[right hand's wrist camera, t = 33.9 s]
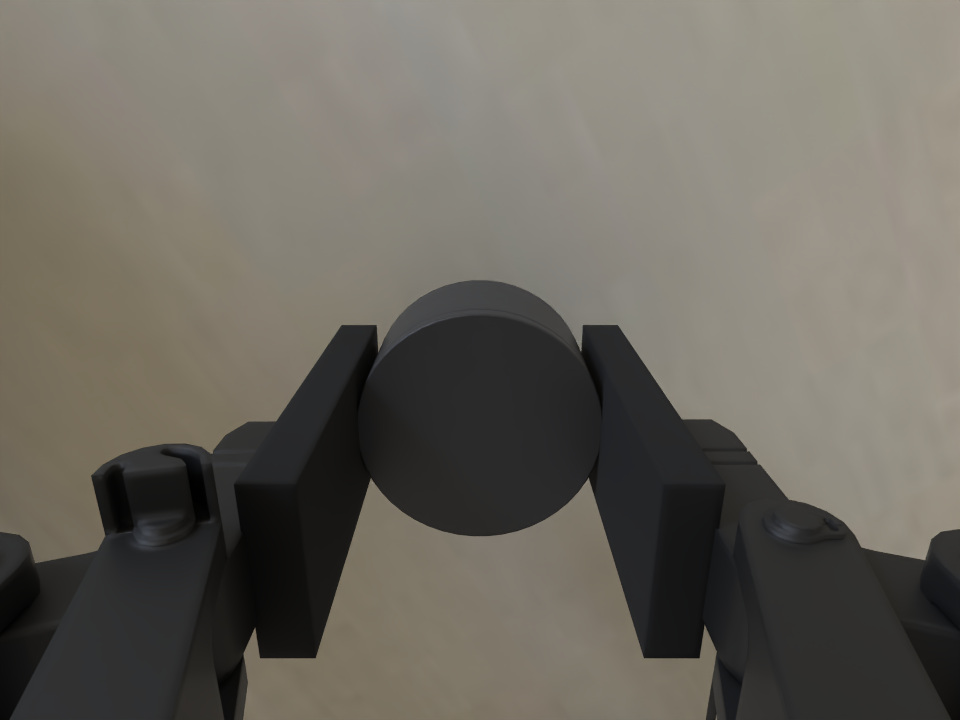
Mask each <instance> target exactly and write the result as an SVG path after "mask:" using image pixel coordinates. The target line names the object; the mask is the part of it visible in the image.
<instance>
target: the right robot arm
mask: <svg viewBox="0 0 960 720" xmlns="http://www.w3.org/2000/svg"><path fill="white" fill-rule="evenodd" d="M581 354H582V356H583V358H584V361H585V363H586V365H587V367H588V370H589V372H590V374H591V377H592V379H593V381H594V384H595V386H596V389H597V392H598V394H599V398H600V402H601V407H602V425H601V439H600V451H599V455H598V458H597V460H596V463H595V466H594V468H593V470H592V472H591V473H590V475H589V480H590V483H591V486H592V490H593V493H594V496H595V500H596V503H597V506H598V509H599V513H600V516H601V519H602V522H603V526H604V529H605V532H606V536H607V539H608V542H609V545H610V549H611V552H612V555H613V558H614V562H615V565H616V568H617V571H618V575H619V578H620V581H621V585H622V588H623V591H624V594H625V598H626V601H627V604H628V607H629V611H630V614H631V617H632V621H633V624H634V627H635V630H636V634H637V637H638V640H639V643H640V647H641V650H642V653H643V657H644V658H700V651H701V645H702V638H703V632H704V625H705V626H706V628H707V631H708V633H709V635H710V637H711V639H712V642H713V644H714V646H715V648H716V651H717V654H716V660H715V667H714V673H713V679H712V685H711V691H710V697H709V703H708V709H707V716H706V720H715V719H716V714H717V720H960V529H957V530H951V531H944V532H940V533H939V534H938V535H936V536H935V537H934V538H932V539H931V543H930V546H929V550H928V553H927V557H926V560H920V559H915V558H909V557H904V556H899V555H893V554H888V553H883V552H877V551H873V550H869V549H865V548H861V546H860V544H859V542H858V540H857V539H856V537H855V535H854V534H853V532H852V531H851V530H850V529H849V528H848V527H847V525H846V524H845V523H844V522H842V521H841V520H839V519H838V518H836V517H835V516H833V515H831V514H830V513H828V512H827V511H824V510H822V509H819V508H817V507H814V506H811V505H809V504H806V503H802V502H797V501H792V500H788V498H787V497H786V496H785V495H784V493H783V492H782V491H781V490H780V489H779V487H778V486H777V485H776V484H775V482H774V481H773V480H772V479H771V478H770V476H769V475H768V474H767V473H766V471H765V470H764V469H763V468H762V467H761V465H758V464H757V460H756V459H755V458H754V457H753V456H752V454H751V453H750V452H747V448H746V447H745V446H744V445H743V443H742V442H741V441H740V440H739V438H738V437H737V436H736V435H735V433H733V432H732V431H730V430H728V429H727V428H725V427H723V426H721V425H720V424H718V423H716V422H715V421H713V420H682V419H681V418H680V416H679V415H678V413H677V412H676V410H675V409H674V407H673V406H672V404H671V403H670V401H669V400H668V398H667V397H666V396H665V394H664V393H663V391H662V390H661V388H660V387H659V385H658V384H657V382H656V381H655V379H654V378H653V376H652V375H651V373H650V372H649V370H648V369H647V368H646V366H645V365H644V363H643V362H642V360H641V359H640V357H639V356H638V354H637V353H636V351H635V350H634V348H633V347H632V345H631V344H630V342H629V341H628V340H627V338H626V337H625V335H624V334H623V332H622V331H621V329H620V328H619V326H618V325H583V334H582V351H581ZM377 355H378V341H377V325H342V326H341V327H340V329H339V330H338V332H337V333H336V334H335V336H334V337H333V339H332V340H331V342H330V343H329V345H328V346H327V348H326V349H325V351H324V352H323V354H322V355H321V357H320V358H319V360H318V361H317V362H316V364H315V365H314V367H313V368H312V370H311V371H310V373H309V374H308V376H307V377H306V379H305V380H304V382H303V383H302V385H301V386H300V387H299V389H298V390H297V392H296V393H295V395H294V396H293V398H292V399H291V401H290V402H289V404H288V405H287V407H286V408H285V410H284V411H283V413H282V414H281V415H280V417H279V418H278V420H277V421H276V422H247V423H245V424H244V425H242V426H240V427H239V428H237V429H235V430H234V431H232V432H230V433H229V434H227V435H226V436H225V437H224V438H223V439H222V441H221V442H220V443H219V444H218V445H217V447H216V448H215V449H214V450H213V454H210V453H209V452H207V451H206V450H205V449H203V448H202V447H199V446H194V445H189V444H162V445H156V446H151V447H145V448H141V449H138V450H135V451H132V452H129V453H126V454H123V455H120V456H118V457H116V458H115V459H113V460H111V461H109V462H107V463H105V464H103V465H102V466H101V467H100V468H99V469H98V470H97V471H96V472H95V473H94V474H93V475H92V476H91V477H92V481H93V485H94V490H95V494H96V498H97V502H98V506H99V510H100V515H101V519H102V523H103V527H104V531H105V538H104V540H103V542H102V544H101V545H100V547H99V549H98V551H95V552H91V553H87V554H82V555H77V556H72V557H66V558H61V559H56V560H51V561H45V562H40V563H35V562H34V558H33V555H32V552H31V548H30V545H29V542H28V541H26V540H25V539H24V538H22V537H21V536H20V535H16V534H9V533H2V532H0V720H243V715H244V708H245V700H246V692H247V685H248V681H247V673H246V667H245V660H244V654H243V653H244V651H245V649H246V646H247V644H248V642H249V640H250V637H251V635H252V633H253V631H254V628H256V634H257V641H258V648H259V654H260V658H316V655H317V652H318V649H319V645H320V642H321V639H322V635H323V632H324V629H325V626H326V622H327V619H328V616H329V613H330V609H331V606H332V603H333V600H334V596H335V593H336V590H337V586H338V583H339V580H340V577H341V573H342V570H343V567H344V564H345V560H346V557H347V554H348V551H349V547H350V544H351V541H352V537H353V534H354V531H355V528H356V524H357V521H358V518H359V515H360V511H361V508H362V505H363V501H364V498H365V495H366V492H367V488H368V485H369V482H370V479H371V476H370V474H369V473H368V471H367V469H366V467H365V464H364V462H363V459H362V456H361V454H360V444H359V431H358V416H357V409H358V404H359V400H360V395H361V393H362V390H363V387H364V385H365V382H366V380H367V378H368V375H369V373H370V371H371V369H372V366H373V364H374V362H375V359H376V357H377Z"/></svg>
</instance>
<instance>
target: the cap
mask: <svg viewBox="0 0 960 720" xmlns="http://www.w3.org/2000/svg"><path fill="white" fill-rule="evenodd" d="M357 416H358V431H359V444H360V454H361V456H362V459H363V462H364V464H365V467H366V469H367V471H368V473H369V474H370V476H371V478H372V480H373V481H374V483H375V484H376V485H377V487H378V488H379V490H380V491H381V492H382V493H383V494H384V495H385V496H386V498H387V499H388V500H389V501H390V502H391V503H392V504H394V505H395V506H396V507H397V508H399V509H400V510H401V511H402V512H404V513H405V514H407V515H408V516H410V517H412V518H413V519H415V520H417V521H419V522H421V523H423V524H425V525H427V526H429V527H432V528H435V529H438V530H441V531H444V532H449V533H453V534H458V535H467V536H492V535H501V534H506V533H511V532H515V531H519V530H522V529H524V528H527V527H530V526H532V525H535V524H537V523H539V522H541V521H543V520H545V519H546V518H548V517H550V516H551V515H553V514H554V513H556V512H557V511H559V510H560V509H561V508H562V507H563V506H565V505H566V504H567V503H568V502H569V501H570V500H571V499H572V498H573V497H574V496H575V495H576V494H577V493H578V492H579V490H580V489H581V487H582V486H583V485H584V483H585V482H586V481H587V479H588V477H589V475H590V473H591V472H592V470H593V468H594V466H595V463H596V460H597V458H598V455H599V451H600V439H601V425H602V407H601V402H600V398H599V394H598V392H597V389H596V386H595V384H594V381H593V379H592V377H591V374H590V372H589V370H588V367H587V365H586V363H585V361H584V358H583V356H582V354H581V352H580V349H579V347H578V345H577V342H576V340H575V338H574V336H573V334H572V332H571V331H570V329H569V327H568V326H567V324H566V323H565V322H564V320H563V319H562V318H561V316H560V315H559V314H558V313H557V312H556V311H555V310H554V309H553V308H552V307H551V306H549V305H548V304H547V303H546V302H544V301H543V300H542V299H540V298H539V297H537V296H535V295H533V294H532V293H530V292H528V291H526V290H523V289H521V288H519V287H516V286H513V285H509V284H505V283H502V282H494V281H465V282H458V283H454V284H450V285H447V286H443V287H441V288H439V289H436V290H434V291H431V292H430V293H428V294H426V295H424V296H423V297H421V298H419V299H418V300H417V301H415V302H414V303H413V304H411V305H410V306H409V307H408V308H407V309H406V310H405V311H404V312H403V313H402V314H401V315H400V316H399V317H398V318H397V320H396V321H395V322H394V324H393V325H392V326H391V328H390V330H389V332H388V333H387V335H386V337H385V339H384V341H383V344H382V346H381V348H380V350H379V353H378V355H377V357H376V359H375V362H374V364H373V366H372V369H371V371H370V373H369V375H368V378H367V380H366V382H365V385H364V387H363V390H362V393H361V395H360V400H359V404H358V409H357Z"/></svg>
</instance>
